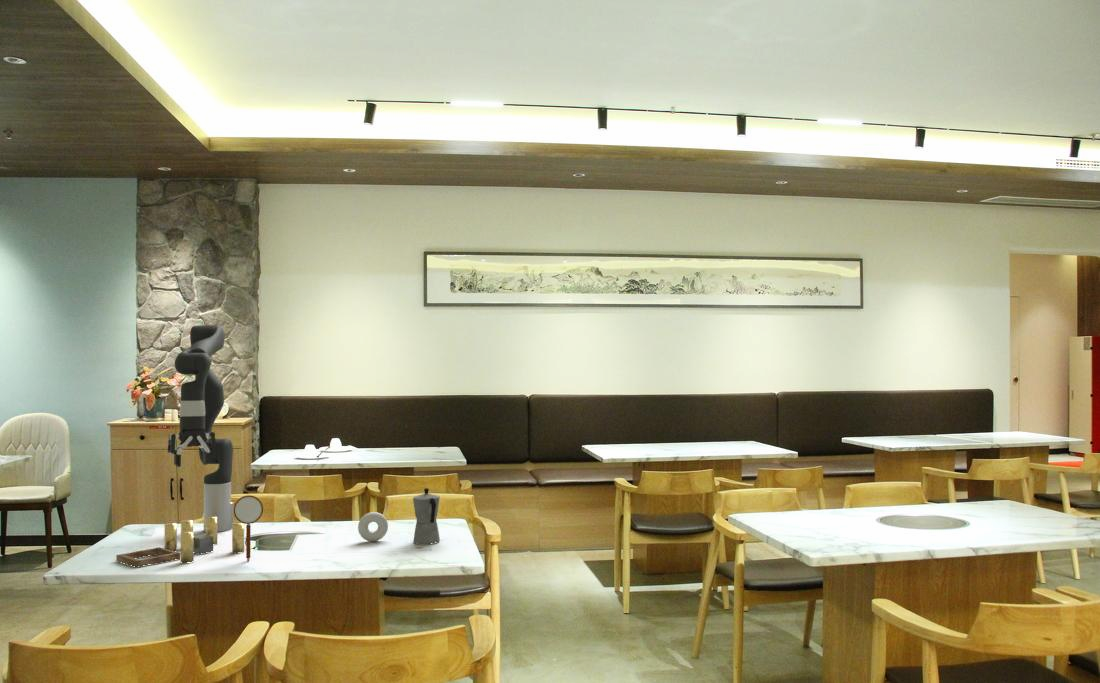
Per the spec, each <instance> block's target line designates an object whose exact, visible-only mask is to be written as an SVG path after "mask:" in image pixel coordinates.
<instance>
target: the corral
mask: <svg viewBox="0 0 1100 683" xmlns="http://www.w3.org/2000/svg"><path fill="white" fill-rule="evenodd" d="M155 554H158V555H155ZM148 555H153V556H150V557H149V556H148ZM160 555H161V556H160ZM143 556H148V557H143ZM139 557H143V558H139ZM135 558H137V559H135ZM175 559H179V560H181V552H178V551H177V552H175V551H171V550H168V549H164V547H161V546H160V547H159V546H158V547H153V548H148V549H147V548H146V549H143V550H142V549H141V550H138V551H137V550H136V551H132V552H125V553H121V554H120V553H119V554H116V558H115V561H118V562H117V563H119V562H122V563H121V564H123V563H125V564H124V565H126V564H128V565H127V566H129V565H132V566H135V567H134V568H136V567H138V566H143V565H148V564H154V565H156V564H155V563H159V564H162V563H161V562H164V563H167V562H166V561H169V562H172V561H171V560H174V561H176V560H175ZM132 566H131V567H132ZM143 567H144V566H143ZM138 568H139V567H138Z"/></svg>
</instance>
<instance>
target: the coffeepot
mask: <svg viewBox="0 0 1100 683" xmlns="http://www.w3.org/2000/svg"><path fill="white" fill-rule="evenodd" d="M429 489H430V488H428V487H425V488H424V489H423V490H424V493H422V494H419V495H415V496H413V498H412V500H413V501H412V502H413V508H414V516H415V518H416V522H415V523H416V524H415V528H414V535H413V541H412V542H413V544H415V543H418V544H417V545H420V544H428V545H432V544H431V543H435V542H438V543H440V541H441V540H440V533H439V532H440V531H439V527H438V526H439V525H438V522H437V518H438V512H439V506H440V499H441V497H440V495H437V494H432V493H429ZM435 544H436V543H435Z"/></svg>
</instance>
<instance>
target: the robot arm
mask: <svg viewBox="0 0 1100 683" xmlns="http://www.w3.org/2000/svg"><path fill="white" fill-rule="evenodd" d="M189 341H190V347H189V348H187V349H185V350H183V351H181V352H180V353H178V354H177V355H176V358H175V360H174V368H175V370H176V372H177V373H178V374H179V375H190V376H191V375H194V380H192V381H191V380H190V381H187V382H183V383H182V384H181V386H180V405H179V426H178V427H179V429H178V430H179V432H178V434H175V433H169V434H168V439H167V440H168V442H167V453H168V454H173V464H174V465H175V467H177V468H180V467H181V466H182V455H181V453H182V452H183V451H184V450H185V449H186V447H187V448H190V447H191V448H192V447H198V455H199V459H200V461H201V463H202V465H204V466H205V465H218V468H217V469H216V470H215V471H213V472H211V473H208V474H206V475H204V477H203V532H205V531H206V517H210V516H217V533H219V532H225V531H226V532H227V531H230V530H232V524H234V502H232V473H233V458H234V456H233V454H234V446H233V443H232V441H231V440H232V439H231V440H230V439H229V438H216V433H215V431H213V426H214V423H215V421H216V420H217V418H218V416H219V415H220V413H221V411H222V409H223V407H224V405H225V395H224V385H223V383H222V381H221V380H220V379H219V377H218V376H217V375H216V374H215V372H214V371H213V370H212V369H211V366H212V360H211V357H212V356H213V355H214V354H216V353H217V352H219V351H220V350H222V349H223V347H224V346H225V332H224V328H223V327H222V326H221V325H217V324H205V325H202V324H201V325H193V326H191V328H190V331H189ZM178 439H179V443H178V445H177V446H176V441H177V440H178Z"/></svg>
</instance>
